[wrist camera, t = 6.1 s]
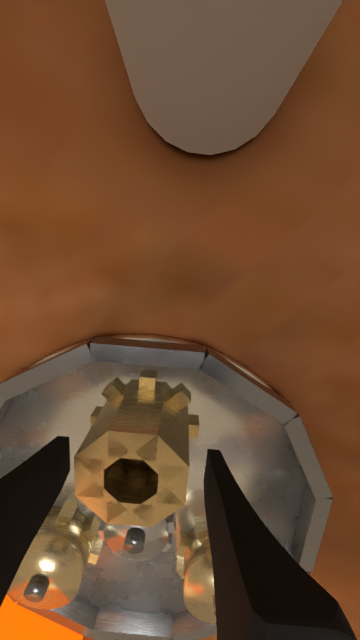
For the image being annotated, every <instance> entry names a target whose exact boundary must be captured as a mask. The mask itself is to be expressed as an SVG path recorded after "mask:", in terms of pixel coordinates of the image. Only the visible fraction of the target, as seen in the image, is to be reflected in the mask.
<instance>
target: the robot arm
mask: <svg viewBox="0 0 360 640" xmlns="http://www.w3.org/2000/svg"><path fill="white" fill-rule="evenodd" d="M69 472H70V440H69V437H65V436H57V437H56V438H54V439H53V440H52V441H50V442H49V443H48V444H46V445H45V446H44V447H43V448H41V449H40V450H39V451H37V452H36V453H35V454H33V455H32V456H31V457H29V458H28V459H27V460H25V461H24V462H23V463H21V464H20V465H19V466H17V467H16V468H15V469H13V470H12V471H10V472H9V473H7V474H6V475H5V476H3V477H2V478H0V607H1V605H2V603H3V601H4V599H5V596H6V594H7V592H8V590H9V588H10V586H11V583H12V581H13V579H14V577H15V575H16V573H17V571H18V569H19V567H20V565H21V562H22V560H23V558H24V556H25V554H26V552H27V551H28V549H29V547H30V545H31V543H32V541H33V540H34V538H35V536H36V534H37V533H38V531H39V529H40V527H41V526H42V524H43V522H44V520H45V519H46V517H47V515H48V513H49V512H50V510H51V508H52V506H53V505H54V503H55V501H56V499H57V497H58V496H59V494H60V492H61V490H62V488H63V486H64V483H65V481H66V479H67V476H68V474H69ZM203 482H204V505H205V512H206V520H207V527H208V535H209V542H210V549H211V557H212V565H213V576H214V592H215V608H216V626H217V640H357V639H356V637H355V635H354V632H353V630H352V628H351V626H350V624H349V622H348V620H347V618H346V617H345V615H344V613H343V611H342V609H341V608H340V606H339V604H338V602H337V601H336V600H335V599H334V598H333V597H332V596H331V595H330V594H329V593H328V592H327V591H326V590H325V589H324V588H323V587H321V586H320V585H319V584H318V583H317V582H316V581H315V580H314V579H313V578H312V577H311V576H310V575H309V574H308V573H307V572H306V571H305V570H304V569H303V568H302V567H301V566H300V565H299V564H298V563H297V562H296V561H295V560H294V559H293V557H292V556H291V555H290V554H289V553H288V552H287V551H286V549H285V548H284V547H283V546H282V545H281V544H280V543H279V541H278V540H277V539H276V538H275V537H274V535H273V534H272V533H271V532H270V530H269V529H268V528H267V527H266V525H265V524H264V523H263V521H262V520H261V519H260V517H259V516H258V515H257V513H256V512H255V510H254V509H253V507H252V506H251V504H250V503H249V501H248V500H247V498H246V497H245V495H244V494H243V492H242V490H241V489H240V487H239V485H238V484H237V482H236V480H235V478H234V477H233V475H232V473H231V471H230V469H229V467H228V465H227V463H226V461H225V459H224V457H223V455H222V453H221V451H220V450H216V449H207V457H206V465H205V473H204V481H203Z"/></svg>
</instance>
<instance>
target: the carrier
mask: <svg viewBox="0 0 360 640" xmlns="http://www.w3.org/2000/svg"><path fill="white" fill-rule="evenodd" d="M142 369H144V370H156V371H157V381H159V382H167V383H168V384H169V386H170V387H171V388H172V389H173V388H174V387H176V386H177V385H178V384H180V383H181V382H182V383H183V384H184V385H185V387H186V388H187V389H188V390H189V391H190V392H191V402H190V403H189V404H188V414H193V415H199V433H198V439H196V438H189V475H188V484H187V493H186V502H185V506H183V507H182V508H180V509H179V510H177V511H176V512H174V513H173V514H171V515H170V516H168V517H166V518H165V519H163V520H162V521H160V522H159V523H157V524H156V525H154V526H153V527H140V526H129V525H118V524H107V523H105V522H104V521H103V520H102V519H101V518H100V517H99V516H98V515H96V514H95V513H94V512H93V511H92V510H91V509H90V508H88V507H87V506H86V505H85V504H84V503H83V502H82V501H80V500H79V499H78V498H77V497H76V496H75V479H74V456H75V454H76V453H77V451H78V449H79V447H80V446H81V444H82V442H83V441H84V439H85V437H86V435H87V434H88V432H89V430H90V416H91V414H92V413H93V411H94V409H95V408H96V406H101V407H103V406H104V404H105V403H106V401H107V399H106V398H105V397H104V396H103V395H102V394H101V393H102V392H103V390H104V388H105V387H106V385H107V384H109V383H110V382H111V381H112V380H114V379H115V378H116V377H118V378H119V379H120V380H121V381H122V382H123V383H124V384H127V383H128V382H129V381H130V380H132V379H136V380H139V376H140V374H141V371H142ZM57 436H65V437H69V440H70V472H69V474H68V476H67V479H66V481H65V483H64V486H63V488H62V490H61V492H60V494H59V496H58V497H57V499H56V501H55V503H54V505H53V506H52V508H51V510H50V512H49V513H48V515H47V517H46V519H45V520H44V522H43V524H42V526H41V527H40V529H39V531H38V533H37V534H36V536H35V538H34V540H33V541H32V543H31V545H30V547H29V549H28V551H27V552H26V554H25V556H24V558H23V560H22V562H21V565H20V567H19V569H18V571H17V573H16V575H15V577H14V579H13V581H12V583H11V586H10V588H9V590H8V592H7V595H8V596H9V597H10V599H11V600H12V601H13V602H17V601H18V602H17V605H19V606H21V607H23V608H25V609H27V610H29V611H32V612H34V613H36V614H38V615H40V616H42V617H44V618H46V619H49V620H51V621H53V622H55V623H57V624H59V625H61V626H63V627H65V628H68V629H70V630H72V631H74V632H76V633H78V634H80V635H82V636H84V637H87V638H90V637H91V636H92V639H94V640H199V639H203V638H206V637H210V636H214V635H217V626H216V608H215V592H214V576H213V565H212V557H211V549H210V542H209V535H208V527H207V520H206V512H205V505H204V482H203V481H204V473H205V465H206V457H207V449H216V450H220V451H221V453H222V455H223V457H224V459H225V461H226V463H227V465H228V467H229V469H230V471H231V473H232V475H233V477H234V478H235V480H236V482H237V484H238V485H239V487H240V489H241V490H242V492H243V494H244V495H245V497H246V498H247V500H248V501H249V503H250V504H251V506H252V507H253V509H254V510H255V512H256V513H257V515H258V516H259V517H260V519H261V520H262V521H263V523H264V524H265V525H266V527H267V528H268V529H269V530H270V532H271V533H272V534H273V535H274V537H275V538H276V539H277V540H278V541H279V543H280V544H281V545H282V546H283V547H284V548H285V549H286V551H287V552H288V553H289V554H290V555H291V556H292V557H293V559H294V560H295V561H296V562H297V563H298V564H299V565H300V566H301V567H302V568H303V569H304V570H305V571H306V572H307V573H308V574H309V575H311V574H310V572H312V571H313V568H314V564H315V561H316V557H317V554H318V550H319V547H320V543H321V540H322V536H323V533H324V529H325V526H326V522H327V519H328V515H329V512H330V508H331V505H332V501H333V499H332V497H333V496H332V493H331V491H330V488H329V486H328V484H327V481H326V479H325V476H324V474H323V471H322V469H321V467H320V464H319V462H318V459H317V457H316V454H315V452H314V449H313V447H312V445H311V442H310V440H309V437H308V435H307V432H306V430H305V427H304V425H303V423H302V420H301V418H300V416H299V414H298V413H297V412H296V410H295V409H294V408H293V406H292V405H291V404H290V403H289V401H287V400H286V399H284V398H283V397H281V396H280V395H278V394H277V393H275V391H274V390H273V389H272V388H271V387H270V386H269V385H268V384H267V383H266V382H265V381H264V380H263V379H261V378H260V377H259V376H257V375H256V374H255V373H254V372H252V371H251V370H250V369H248V368H247V367H246V366H244V365H243V364H241V363H239V362H237V361H236V360H234V359H232V358H231V357H229V356H227V355H225V354H223V353H221V352H218V351H216V350H214V349H211V348H209V347H207V346H204V345H202V344H198V343H194V342H191V341H187V340H184V339H180V338H175V337H168V336H162V335H155V334H120V335H111V336H103V337H99V336H98V337H97V338H95V337H93V338H91V339H89V340H86V341H82V342H78V343H76V344H73V345H71V346H68V347H66V348H63V349H60V350H58V351H56V352H54V353H53V354H51V355H49V356H47V357H45V358H44V359H42V360H40V361H38V362H37V363H35V364H34V365H32V366H31V367H29V368H27V369H25V370H23V371H21V372H19V373H17V374H15V375H12V376H10V377H8V378H7V379H5V380H3V381H2V382H0V478H2V477H3V476H5V475H6V474H7V473H9V472H10V471H12V470H13V469H15V468H16V467H17V466H19V465H20V464H21V463H23V462H24V461H25V460H27V459H28V458H29V457H31V456H32V455H33V454H35V453H36V452H37V451H39V450H40V449H41V448H43V447H44V446H45V445H46V444H48V443H49V442H50V441H52V440H53V439H54V438H56V437H57ZM125 461H126V464H127V465H128V466H129V467H130V468H133V469H142V468H144V467H146V466H147V463H146V462H145V461H144V460H137V459H126V458H125Z"/></svg>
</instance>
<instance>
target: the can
mask: <svg viewBox="0 0 360 640" xmlns="http://www.w3.org/2000/svg"><path fill="white" fill-rule="evenodd" d="M342 1H343V0H105V2H106V5H107V8H108V11H109V15H110V18H111V21H112V25H113V28H114V31H115V34H116V38H117V41H118V44H119V48H120V51H121V54H122V57H123V61H124V64H125V67H126V71H127V74H128V77H129V80H130V84H131V87H132V90H133V94H134V97H135V99H136V101H137V103H138V105H139V107H140V109H141V111H142V113H143V115H144V117H145V119H146V120H147V122H148V124H149V125H150V126H151V127H152V128H153V129H154V130H155V131H156V132H157V133H158V134H159V135H160V136H161V137H162V138H163V139H164V140H165V141H166V142H168V143H170V144H172V145H174V146H176V147H178V148H180V149H182V150H184V151H186V152H189V153H198V154H206V155H214V154H218V153H222V152H226V151H230V150H234V149H236V148H238V147H239V146H241V145H243V144H244V143H246V142H247V141H249V140H250V139H252V138H254V137H255V136H257V135H258V134H259V132H260V131H261V130H262V129H263V128H264V126H265V125H266V124H267V123H268V122H269V121H270V119H271V118H272V117H273V116H274V115H275V113H276V112H277V110H278V108H279V107H280V105H281V103H282V102H283V100H284V98H285V97H286V95H287V93H288V92H289V90H290V88H291V87H292V85H293V83H294V82H295V80H296V78H297V77H298V75H299V73H300V72H301V70H302V68H303V66H304V65H305V63H306V61H307V60H308V58H309V56H310V55H311V53H312V51H313V50H314V48H315V46H316V45H317V43H318V41H319V40H320V38H321V36H322V35H323V33H324V31H325V30H326V28H327V26H328V25H329V23H330V21H331V20H332V18H333V16H334V15H335V13H336V11H337V10H338V8H339V6H340V5H341V3H342Z"/></svg>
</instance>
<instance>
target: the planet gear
mask: <svg viewBox="0 0 360 640" xmlns="http://www.w3.org/2000/svg"><path fill="white" fill-rule="evenodd" d="M101 394H102V395H103V396H104V397H105V398H106V399H107V401H106V403H105V404H104V406H103V407H101V406H96V408H95V409H94V411H93V413H92V414H91V416H90V430H89V432H88V434H87V435H86V437H85V439H84V441H83V442H82V444H81V446H80V447H79V449H78V451H77V453H76V454H75V456H74V479H75V496H76V497H77V498H78V499H79V500H80V501H82V502H83V503H84V504H85V505H86V506H87V507H88V508H90V509H91V510H92V511H93V512H94V513H95V514H96V515H98V516H99V517H100V518H101V519H102V520H103V521H104V522H105V523H107V524H118V525H129V526H140V527H153V526H154V525H156V524H157V523H159V522H160V521H162V520H163V519H165V518H166V517H168V516H170V515H171V514H173V513H174V512H176V511H177V510H179V509H180V508H182V507H183V506H185V502H186V493H187V484H188V475H189V438H196V439H198V433H199V415H193V414H188V404H189V403H190V402H191V392H190V391H189V390H188V389H187V388H186V387H185V385H184V384H183V383H182V382H181V383H180V384H178V385H177V386H176V387H174V388H173V389H172V388H171V387H170V386H169V384H168V383H167V382H159V381H157V371H156V370H144V369H142V371H141V374H140V376H139V380H136V379H132V380H130V381H129V382H128V383H127V384H124V383H123V382H122V381H121V380H120V379H119V378H118V377H116V378H115V379H114V380H112V381H111V382H110V383H109V384H107V385H106V387H105V388H104V390H103V392H102V393H101ZM125 458H126V459H137V460H144V461H145V462H146V463H147V466H146V467H144V468H142V469H133V468H130V467H129V466H128V465H127V464H126V461H125Z"/></svg>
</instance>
